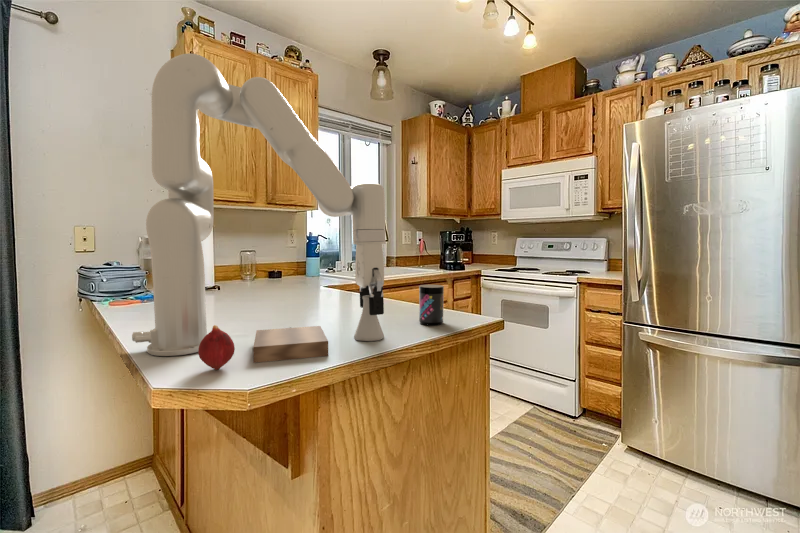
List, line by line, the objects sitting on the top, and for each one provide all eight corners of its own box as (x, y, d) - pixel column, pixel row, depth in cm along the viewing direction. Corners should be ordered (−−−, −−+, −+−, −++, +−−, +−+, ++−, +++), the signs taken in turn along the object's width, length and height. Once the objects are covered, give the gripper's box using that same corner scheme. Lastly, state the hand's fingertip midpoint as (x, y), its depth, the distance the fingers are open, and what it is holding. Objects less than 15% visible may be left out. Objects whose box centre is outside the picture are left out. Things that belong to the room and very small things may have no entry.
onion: (242, 366, 71) (240, 323, 70) (217, 376, 66) (216, 330, 65) (217, 362, 73) (215, 321, 72) (191, 372, 67) (189, 327, 67)
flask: (383, 342, 87) (383, 298, 87) (351, 342, 88) (351, 298, 87) (385, 334, 95) (385, 294, 94) (355, 334, 95) (355, 293, 94)
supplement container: (418, 320, 110) (418, 284, 109) (441, 320, 110) (442, 284, 109) (419, 326, 103) (419, 287, 103) (444, 326, 103) (445, 287, 103)
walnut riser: (253, 362, 73) (253, 347, 73) (256, 343, 86) (256, 330, 86) (328, 355, 77) (328, 340, 77) (320, 338, 91) (320, 325, 90)
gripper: (346, 238, 96) (348, 305, 98) (361, 238, 80) (363, 319, 81) (375, 237, 99) (377, 303, 100) (395, 237, 82) (397, 316, 84)
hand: (371, 310), depth 91 cm, fingers open, 9 cm apart
